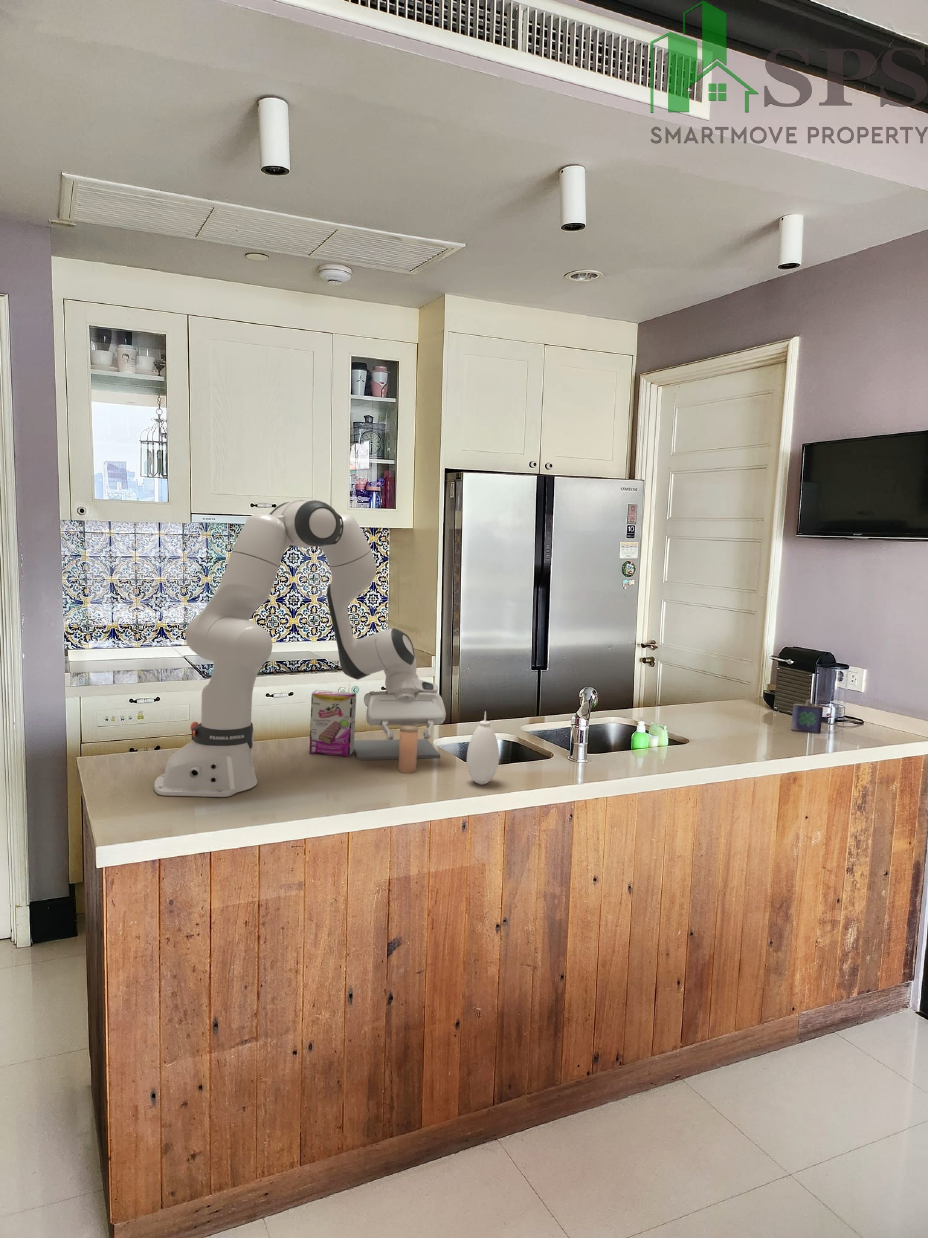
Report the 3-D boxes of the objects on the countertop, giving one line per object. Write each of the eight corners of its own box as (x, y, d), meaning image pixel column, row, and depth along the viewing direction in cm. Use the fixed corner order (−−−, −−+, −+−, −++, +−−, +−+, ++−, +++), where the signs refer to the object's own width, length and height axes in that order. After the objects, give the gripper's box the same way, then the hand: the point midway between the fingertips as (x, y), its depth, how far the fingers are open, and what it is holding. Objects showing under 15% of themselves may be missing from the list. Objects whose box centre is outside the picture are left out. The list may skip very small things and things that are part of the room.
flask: (791, 731, 274) (794, 699, 272) (789, 729, 276) (793, 697, 275) (821, 734, 271) (824, 702, 270) (819, 732, 274) (823, 700, 273)
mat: (358, 760, 217) (358, 757, 216) (349, 743, 232) (350, 740, 232) (440, 757, 222) (440, 754, 222) (427, 741, 238) (427, 738, 238)
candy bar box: (308, 754, 220) (310, 693, 218) (313, 749, 225) (315, 689, 223) (350, 757, 219) (352, 696, 217) (354, 752, 224) (356, 692, 222)
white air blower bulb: (498, 779, 206) (502, 708, 204) (496, 789, 199) (500, 715, 196) (467, 777, 207) (470, 706, 205) (463, 787, 199) (467, 713, 197)
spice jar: (400, 773, 207) (402, 728, 206) (396, 768, 211) (398, 724, 210) (417, 773, 208) (419, 728, 207) (414, 767, 213) (416, 724, 211)
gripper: (364, 685, 211) (369, 732, 203) (443, 684, 217) (450, 731, 209) (361, 698, 216) (366, 745, 208) (438, 697, 222) (445, 743, 214)
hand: (409, 738), depth 208 cm, fingers open, 8 cm apart
